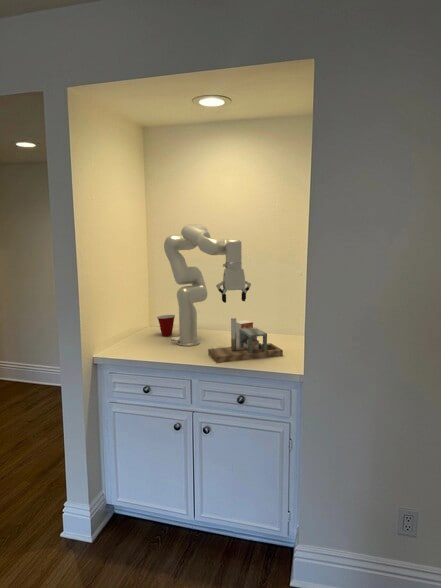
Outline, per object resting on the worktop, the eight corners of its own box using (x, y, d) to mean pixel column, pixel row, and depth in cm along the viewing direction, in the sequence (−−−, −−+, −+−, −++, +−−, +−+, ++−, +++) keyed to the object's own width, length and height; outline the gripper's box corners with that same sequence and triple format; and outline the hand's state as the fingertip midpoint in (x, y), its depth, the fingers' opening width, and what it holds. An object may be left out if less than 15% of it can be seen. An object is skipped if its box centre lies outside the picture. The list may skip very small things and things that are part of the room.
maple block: (250, 350, 209) (250, 341, 209) (246, 348, 214) (246, 339, 213) (258, 349, 211) (258, 340, 210) (255, 347, 215) (255, 338, 214)
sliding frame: (233, 352, 205) (233, 320, 203) (228, 348, 212) (228, 317, 210) (262, 349, 210) (262, 318, 207) (256, 345, 217) (256, 315, 214)
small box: (240, 347, 225) (241, 323, 223) (234, 345, 231) (233, 321, 229) (253, 345, 230) (253, 321, 228) (246, 343, 235) (246, 319, 233)
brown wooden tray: (216, 363, 200) (216, 338, 198) (208, 354, 213) (207, 331, 211) (282, 356, 210) (283, 332, 208) (270, 348, 223) (271, 326, 221)
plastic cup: (164, 332, 261) (164, 313, 259) (179, 334, 255) (178, 314, 254) (153, 336, 252) (152, 316, 250) (168, 338, 246) (167, 318, 244)
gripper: (218, 267, 197) (219, 303, 199) (253, 265, 202) (253, 301, 205) (213, 266, 204) (214, 301, 206) (247, 264, 209) (247, 299, 212)
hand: (234, 301), depth 205 cm, fingers open, 9 cm apart
